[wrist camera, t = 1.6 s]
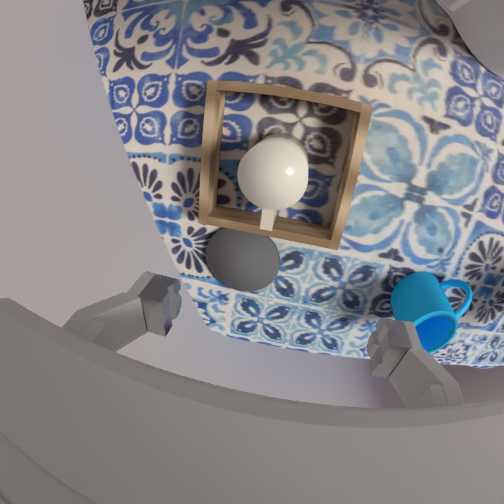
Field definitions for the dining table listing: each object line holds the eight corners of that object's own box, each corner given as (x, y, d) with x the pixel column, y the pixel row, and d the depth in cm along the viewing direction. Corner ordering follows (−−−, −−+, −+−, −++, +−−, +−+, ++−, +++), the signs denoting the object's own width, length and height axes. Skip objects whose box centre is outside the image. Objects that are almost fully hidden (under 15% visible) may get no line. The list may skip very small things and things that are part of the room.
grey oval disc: (208, 218, 35) (206, 220, 35) (285, 233, 34) (285, 235, 33) (206, 280, 40) (204, 282, 40) (273, 294, 39) (272, 297, 39)
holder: (218, 82, 26) (207, 80, 23) (365, 105, 24) (372, 105, 21) (208, 211, 34) (198, 222, 32) (335, 235, 33) (337, 250, 30)
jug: (257, 128, 28) (241, 137, 21) (312, 137, 28) (313, 149, 21) (249, 201, 33) (231, 230, 26) (298, 210, 32) (295, 243, 25)
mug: (398, 322, 38) (408, 363, 31) (382, 287, 35) (393, 329, 28) (463, 289, 32) (483, 326, 26) (455, 249, 30) (480, 285, 23)
